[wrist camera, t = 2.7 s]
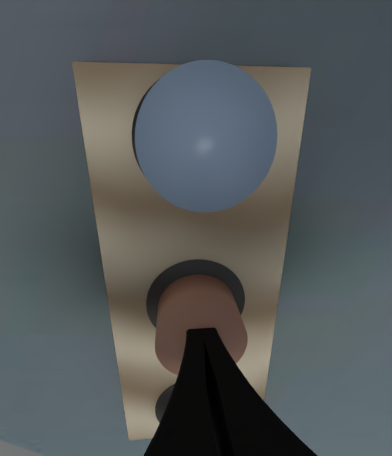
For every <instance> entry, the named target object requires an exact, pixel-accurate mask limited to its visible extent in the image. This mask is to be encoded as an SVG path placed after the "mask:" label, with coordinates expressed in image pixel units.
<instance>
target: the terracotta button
mask: <svg viewBox="0 0 392 456" xmlns="http://www.w3.org/2000/svg"><path fill="white" fill-rule="evenodd" d="M213 327H214V328H216V329H217V331H218V334H219V336H220V338H221V340H222V341H223V343H224V345H225V347H226V349H227V350H228V352H229V354H230V355H231V357H232V358H233V360H234V361H235V363H237V362H238V361H239V360H240V359H241V358H242V356H243V354H244V352H245V350H246V347H247V342H248V336H247V331H246V328H245V326H244V323H243V320H242V318H241V315H240V312H239V310H238V307H237V304H236V302H235V299H234V296H233V294H232V292H231V290H230V288H229V287H228V286H227V285H226V284H225V283H224V282H223V281H221V280H219V279H218V278H215V277H213V276H209V275H203V274H195V275H188V276H185V277H182V278H180V279H178V280H176V281H174V282H173V283H171V284H170V285H169V286H168V287H167V288H166V289H165V290H164V292H163V293H162V295H161V297H160V300H159V304H158V313H157V324H156V336H155V353H156V356H157V358H158V360H159V362H160V363H161V364H162V366H163V367H165V368H166V369H167V370H168V371H170V372H171V373H173V374H175V375H178V373H179V370H180V366H181V362H182V358H183V354H184V349H185V343H186V331H187V330H188V329H198V328H213Z"/></svg>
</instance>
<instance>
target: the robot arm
mask: <svg viewBox="0 0 392 456" xmlns="http://www.w3.org/2000/svg"><path fill="white" fill-rule="evenodd" d="M144 456H317V455H316V454H315V453H314V452H313V451H312V450H311V449H310V448H309V447H307V446H306V445H305V444H304V443H303V442H302V441H301V440H300V439H299V438H298V437H297V436H296V435H295V434H294V433H293V432H292V431H291V430H290V429H289V428H288V427H287V426H286V425H285V424H284V423H283V422H282V421H281V420H280V419H279V418H278V417H277V415H276V414H275V413H274V412H273V411H272V410H271V409H270V408H269V406H268V405H267V404H266V403H265V402H264V401H263V399H262V398H261V397H260V396H259V395H258V393H257V392H256V391H255V390H254V388H253V387H252V386H251V384H250V383H249V382H248V380H247V379H246V378H245V376H244V375H243V373H242V372H241V370H240V369H239V368H238V366H237V364H236V363H235V361H234V360H233V358H232V357H231V355H230V354H229V352H228V350H227V349H226V347H225V345H224V343H223V341H222V340H221V338H220V336H219V334H218V331H217V329H216V328H214V327H213V328H198V329H188V330H187V331H186V343H185V349H184V354H183V358H182V362H181V366H180V370H179V373H178V376H177V379H176V382H175V386H174V389H173V391H172V394H171V397H170V399H169V402H168V404H167V407H166V409H165V412H164V414H163V417H162V419H161V421H160V423H159V426H158V428H157V430H156V432H155V434H154V436H153V438H152V440H151V442H150V444H149V446H148V448H147V450H146V452H145V454H144Z"/></svg>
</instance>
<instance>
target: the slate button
mask: <svg viewBox="0 0 392 456" xmlns="http://www.w3.org/2000/svg"><path fill="white" fill-rule="evenodd" d="M277 135H278V134H277V122H276V117H275V113H274V110H273V107H272V104H271V102H270V100H269V98H268V96H267V94H266V93H265V91H264V90H263V88H262V87H261V86H260V85H259V83H258V82H257V81H256V80H255V79H254V78H253V77H252V76H250V75H249V74H248V73H247V72H245V71H244V70H242V69H240V68H239V67H237V66H234V65H232V64H230V63H226V62H222V61H217V60H197V61H192V62H188V63H185V64H183V65H180V66H178V67H176V68H174V69H172V70H171V71H169V72H168V73H166V74H165V75H164V76H162V77H161V78H160V79H159V80H158V81H157V82H156V83H155V84H154V85H153V87H152V88H151V89H150V91H149V92H148V94H147V95H146V97H145V99H144V101H143V103H142V105H141V108H140V110H139V113H138V117H137V121H136V127H135V147H136V154H137V158H138V161H139V165H140V167H141V169H142V172H143V174H144V175H145V177H146V179H147V181H148V182H149V183H150V185H151V186H152V187H153V189H154V190H155V191H156V192H157V193H158V194H159V195H160V196H162V197H163V198H164V199H165V200H167V201H169V202H170V203H172V204H173V205H176V206H178V207H180V208H183V209H186V210H189V211H195V212H216V211H220V210H224V209H227V208H230V207H232V206H234V205H236V204H239V203H240V202H242V201H243V200H245V199H246V198H247V197H249V196H250V195H251V194H252V193H253V192H254V191H255V190H256V189H257V188H258V187H259V186H260V184H261V183H262V182H263V180H264V179H265V177H266V175H267V174H268V172H269V170H270V168H271V165H272V163H273V160H274V156H275V153H276V147H277Z"/></svg>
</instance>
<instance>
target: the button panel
mask: <svg viewBox="0 0 392 456" xmlns="http://www.w3.org/2000/svg"><path fill="white" fill-rule="evenodd" d="M72 65H73V71H74V78H75V85H76V91H77V98H78V105H79V111H80V118H81V124H82V131H83V138H84V144H85V151H86V158H87V164H88V171H89V178H90V184H91V191H92V197H93V204H94V211H95V217H96V224H97V231H98V237H99V244H100V250H101V257H102V264H103V270H104V277H105V284H106V290H107V297H108V304H109V310H110V317H111V323H112V330H113V337H114V343H115V350H116V357H117V363H118V370H119V377H120V383H121V390H122V396H123V403H124V410H125V416H126V423H127V430H128V436H129V440H138V439H149V438H153V436H154V434H155V432H156V430H157V428H158V426H159V423H160V421H161V419H162V417H163V414H164V412H165V409H166V407H167V404H168V402H169V399H170V397H171V394H172V391H173V389H174V386H175V382H176V379H177V376H178V375H175V374H173V373H171V372H170V371H168V370H167V369H166V368H165V367H163V366H162V364H161V363H160V362H159V360H158V358H157V356H156V353H155V336H156V324H157V313H158V304H159V300H160V297H161V295H162V293H163V292H164V290H165V289H166V288H167V287H168V286H169V285H170V284H171V283H173V282H174V281H176V280H178V279H180V278H182V277H185V276H188V275H195V274H203V275H209V276H213V277H215V278H218V279H219V280H221V281H223V282H224V283H225V284H226V285H227V286H228V287H229V288H230V290H231V292H232V294H233V296H234V299H235V302H236V304H237V307H238V310H239V312H240V315H241V318H242V320H243V323H244V326H245V328H246V331H247V336H248V342H247V347H246V350H245V352H244V354H243V356H242V358H241V359H240V360H239V361H238V362H237V363H236V364H237V366H238V368H239V369H240V370H241V372H242V373H243V375H244V376H245V378H246V379H247V380H248V382H249V383H250V384H251V386H252V387H253V388H254V390H255V391H256V392H257V393H258V395H259V396H260V397H261V398H262V399H263V401H264V397H265V390H266V383H267V376H268V369H269V362H270V355H271V348H272V341H273V334H274V327H275V320H276V313H277V306H278V299H279V291H280V284H281V277H282V270H283V263H284V256H285V249H286V242H287V235H288V228H289V221H290V214H291V207H292V200H293V193H294V186H295V179H296V172H297V165H298V158H299V151H300V144H301V137H302V130H303V123H304V116H305V109H306V102H307V95H308V88H309V81H310V74H311V68H306V67H265V66H237V67H239V68H240V69H242V70H244V71H245V72H247V73H248V74H249V75H250V76H252V77H253V78H254V79H255V80H256V81H257V82H258V83H259V85H260V86H261V87H262V88H263V90H264V91H265V93H266V94H267V96H268V98H269V100H270V102H271V104H272V107H273V110H274V113H275V117H276V122H277V134H278V135H277V147H276V153H275V156H274V160H273V163H272V165H271V168H270V170H269V172H268V174H267V175H266V177H265V179H264V180H263V182H262V183H261V184H260V186H259V187H258V188H257V189H256V190H255V191H254V192H253V193H252V194H251V195H250V196H249V197H247V198H246V199H245V200H243V201H242V202H240V203H239V204H236V205H234V206H232V207H230V208H227V209H224V210H220V211H216V212H195V211H189V210H186V209H183V208H180V207H178V206H176V205H173V204H172V203H170V202H169V201H167V200H165V199H164V198H163V197H162V196H160V195H159V194H158V193H157V192H156V191H155V190H154V189H153V187H152V186H151V185H150V183H149V182H148V181H147V179H146V177H145V175H144V174H143V172H142V169H141V167H140V165H139V161H138V158H137V154H136V147H135V127H136V121H137V117H138V113H139V110H140V108H141V105H142V103H143V101H144V99H145V97H146V95H147V94H148V92H149V91H150V89H151V88H152V87H153V85H154V84H155V83H156V82H157V81H158V80H159V79H160V78H161V77H162V76H164V75H165V74H166V73H168V72H169V71H171V70H172V69H174V68H176V67H178V66H180V65H183V64H142V63H100V62H72Z"/></svg>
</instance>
